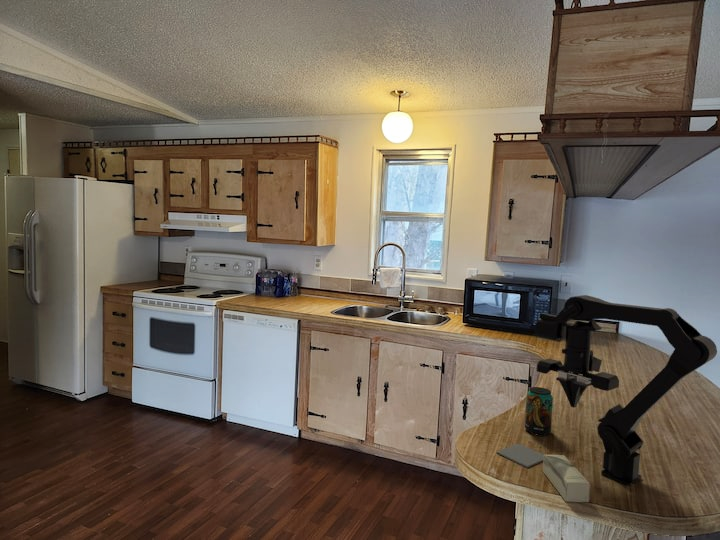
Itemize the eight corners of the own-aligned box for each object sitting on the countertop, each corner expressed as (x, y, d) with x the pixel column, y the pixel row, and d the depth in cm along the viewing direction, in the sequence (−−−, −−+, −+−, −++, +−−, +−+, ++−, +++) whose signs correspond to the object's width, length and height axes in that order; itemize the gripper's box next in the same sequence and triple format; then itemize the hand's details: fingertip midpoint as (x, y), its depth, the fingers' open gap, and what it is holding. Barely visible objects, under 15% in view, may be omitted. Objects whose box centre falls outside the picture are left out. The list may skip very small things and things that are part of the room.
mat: (548, 458, 119) (549, 456, 119) (527, 467, 114) (527, 466, 114) (518, 444, 127) (518, 443, 127) (496, 453, 121) (496, 451, 121)
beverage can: (524, 433, 134) (526, 392, 133) (524, 424, 141) (527, 384, 140) (551, 438, 132) (553, 395, 131) (550, 428, 138) (553, 388, 137)
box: (564, 454, 112) (592, 482, 99) (563, 472, 113) (590, 503, 100) (542, 454, 112) (567, 482, 99) (541, 472, 112) (565, 502, 100)
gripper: (632, 350, 116) (627, 412, 117) (560, 335, 131) (557, 390, 132) (609, 356, 109) (604, 422, 110) (537, 339, 124) (533, 398, 125)
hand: (573, 407), depth 120 cm, fingers closed
